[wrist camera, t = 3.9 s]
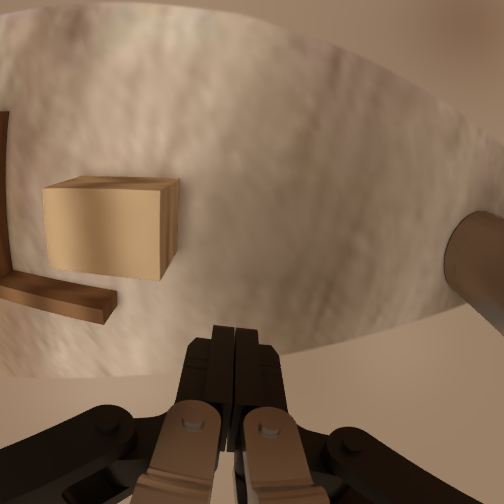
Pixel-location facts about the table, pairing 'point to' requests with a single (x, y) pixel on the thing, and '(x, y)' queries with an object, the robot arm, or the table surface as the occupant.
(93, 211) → the oak block
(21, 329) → the table surface
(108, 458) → the robot arm
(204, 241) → the table surface
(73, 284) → the corner fence
